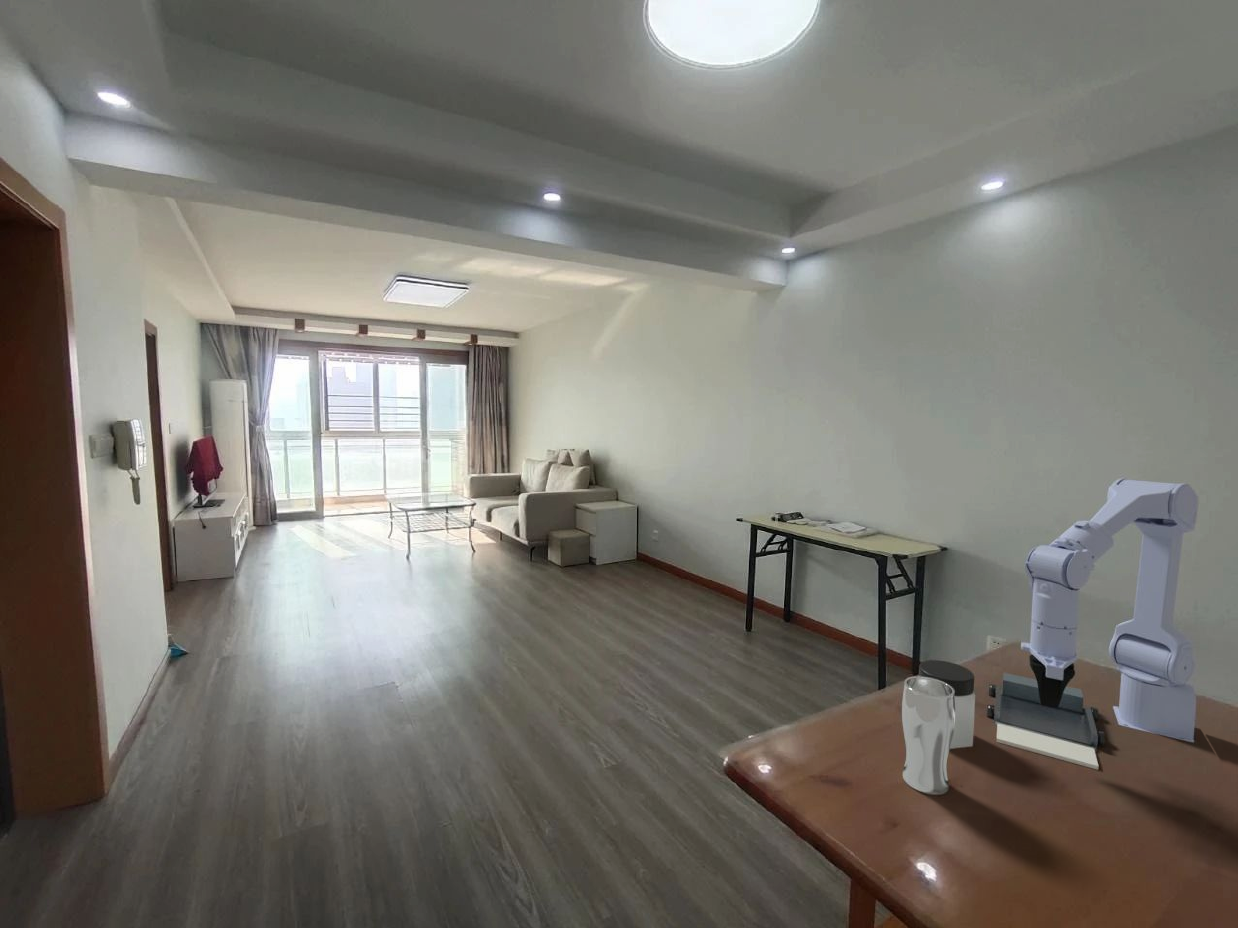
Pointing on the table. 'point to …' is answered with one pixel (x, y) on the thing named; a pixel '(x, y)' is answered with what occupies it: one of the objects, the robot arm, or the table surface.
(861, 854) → the table surface
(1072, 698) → the grey piece
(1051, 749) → the panel
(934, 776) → the beer glass
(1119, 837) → the table surface
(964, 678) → the jar
